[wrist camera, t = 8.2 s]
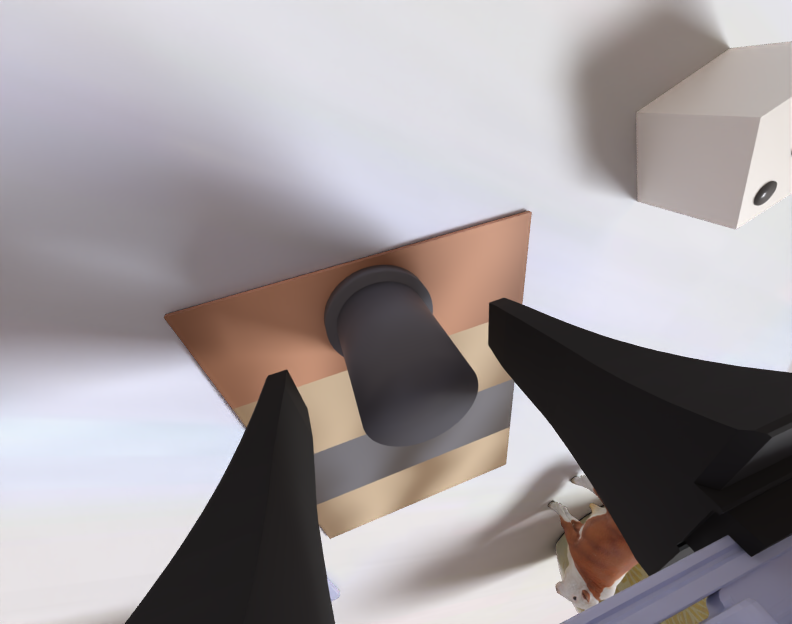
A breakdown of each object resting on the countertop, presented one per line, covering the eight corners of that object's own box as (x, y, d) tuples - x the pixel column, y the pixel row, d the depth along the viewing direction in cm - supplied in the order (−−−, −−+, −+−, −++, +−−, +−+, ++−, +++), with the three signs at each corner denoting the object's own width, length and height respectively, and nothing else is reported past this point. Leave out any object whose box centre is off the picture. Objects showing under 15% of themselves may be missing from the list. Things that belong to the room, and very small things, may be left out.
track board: (329, 535, 23) (330, 538, 22) (165, 314, 11) (163, 317, 11) (504, 461, 25) (505, 464, 25) (528, 210, 13) (531, 212, 13)
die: (636, 201, 15) (737, 229, 11) (634, 112, 12) (762, 117, 9) (713, 149, 14) (839, 164, 11) (727, 48, 12) (893, 30, 9)
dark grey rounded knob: (340, 367, 14) (365, 472, 10) (309, 284, 12) (327, 381, 8) (431, 336, 15) (489, 423, 11) (421, 251, 12) (492, 324, 8)
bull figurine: (515, 530, 35) (569, 628, 29) (596, 452, 30) (685, 550, 23) (540, 526, 37) (596, 616, 31) (621, 452, 32) (708, 543, 25)
